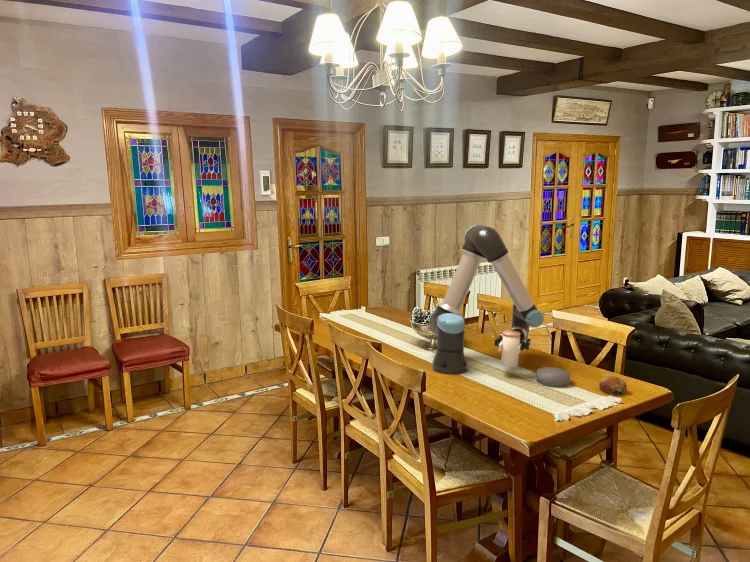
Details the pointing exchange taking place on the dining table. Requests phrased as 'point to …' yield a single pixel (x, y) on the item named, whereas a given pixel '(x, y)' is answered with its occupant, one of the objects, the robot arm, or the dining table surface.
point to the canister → (510, 348)
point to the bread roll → (613, 385)
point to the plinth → (553, 377)
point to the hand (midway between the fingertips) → (508, 349)
